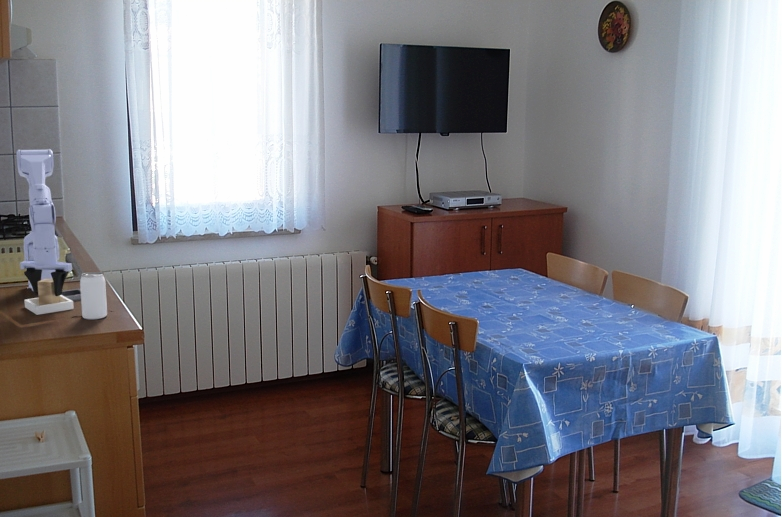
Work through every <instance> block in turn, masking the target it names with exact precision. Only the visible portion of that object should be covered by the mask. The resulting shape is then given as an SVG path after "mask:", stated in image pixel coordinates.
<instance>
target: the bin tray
mask: <svg viewBox="0 0 782 517" xmlns="http://www.w3.org/2000/svg"><path fill="white" fill-rule="evenodd" d="M24 308H25V309H27V310H29V311H30V312H32V313H33V314H35V315H44V314H50V313H57V312H64V311H68V310H74V308H75V307H74V301H72V300H70V299H68V298H66V297H65V296H63V295H60V303H53V304H47V305H40V306H39V297H34V298H33V297H32V298H27V299H24Z"/></svg>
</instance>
